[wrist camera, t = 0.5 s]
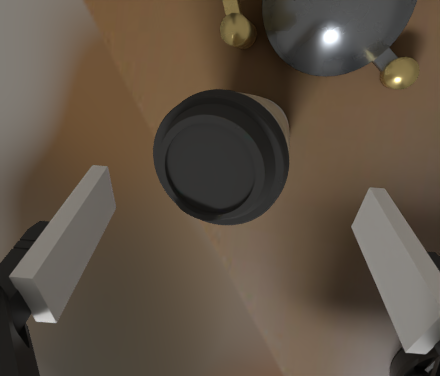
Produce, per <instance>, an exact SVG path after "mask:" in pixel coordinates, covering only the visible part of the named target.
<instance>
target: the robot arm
mask: <svg viewBox="0 0 440 376" xmlns="http://www.w3.org/2000/svg"><path fill="white" fill-rule="evenodd" d="M115 209H116V205H115V199H114V195H113V191H112V185H111V181H110V175H109V170H108V167H107V166H96V165H92V167H91V168H90V169H89V171H88V172H87V173H86V175H85V176H84V177H83V179H82V180H81V181H80V183H79V184H78V185H77V187H76V188H75V189H74V191H73V192H72V193H71V194H70V196H69V197H68V198H67V200H66V201H65V203H64V204H63V205H62V207H61V208H60V209H59V211H58V212H57V213H56V214H55V216H54V217H53V218H52V220H51V221H50V222H47V221H39V222H38V223H36V224H35V225H33V226H32V227H30V228H29V229H28V230H27V231H26V232H25V234H24V235H23V236H22V237H21V239H20V241H18V242H17V243H16V245H15V246H14V248H13V249H11V251H10V252H9V253H8V255H7V256H6V257H5V258H4V259H3V261H2V262H1V263H0V376H40V374H39V370H38V366H37V362H36V358H35V353H34V349H33V345H32V341H31V337H30V333H29V329H28V326H27V324H26V321H27V320H28V318H29V316H30V315H31V313H32V315H33V317H34V318H35V320H36V321H38V322H50V323H57V321H58V319H59V317H60V315H61V313H62V312H63V310H64V308H65V306H66V304H67V302H68V300H69V298H70V296H71V294H72V292H73V290H74V288H75V286H76V284H77V283H78V281H79V279H80V277H81V275H82V273H83V271H84V269H85V267H86V265H87V263H88V261H89V259H90V257H91V256H92V254H93V252H94V250H95V248H96V246H97V244H98V242H99V240H100V238H101V236H102V234H103V232H104V230H105V229H106V227H107V225H108V223H109V221H110V219H111V217H112V215H113V213H114V211H115ZM351 228H352V230H353V232H354V235H355V237H356V239H357V242H358V244H359V246H360V249H361V251H362V253H363V256H364V258H365V260H366V262H367V265H368V267H369V269H370V272H371V274H372V276H373V279H374V281H375V283H376V286H377V288H378V290H379V293H380V295H381V297H382V300H383V302H384V304H385V307H386V309H387V311H388V314H389V316H390V318H391V321H392V323H393V325H394V328H395V330H396V332H397V334H398V337H399V339H400V341H401V344H402V346H403V349H401V350H400V351H399V353H398V354H397V355H396V356H395V358H394V360H393V362H392V364H391V367H390V376H440V256H438V255H437V254H436V253H435V252H426V250H425V249H424V247H423V246H422V244H421V243H420V241H419V240H418V238H417V237H416V235H415V234H414V232H413V231H412V229H411V227H410V226H409V224H408V223H407V221H406V220H405V218H404V217H403V215H402V214H401V212H400V211H399V209H398V208H397V206H396V205H395V203H394V202H393V200H392V199H391V197H390V196H389V194H388V193H387V191H386V190H385V189H384V188H372V187H369V189H368V192H367V194H366V196H365V198H364V200H363V202H362V205H361V207H360V209H359V211H358V213H357V215H356V218H355V220H354V222H353V224H352V226H351Z"/></svg>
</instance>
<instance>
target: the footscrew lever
mask: <svg viewBox="0 0 440 376" xmlns="http://www.w3.org/2000/svg"><path fill="white" fill-rule="evenodd" d="M222 1H223V5H224V9H225V14H226V17H225V18H224V19H223V20H222V23H221V26H220V34H221V37H222V39H223V40H224V42H226V43H227V44H229V45H232V46H235V47H237V48H240V49H247V48H249V47H251V46H252V45H253V44H254V42H255V40H256V37H257V31H256V28H255V26H254V25H253V24H252V23H251V22H250V21H249V20H248V19H246V18H245V17H244V16H243V15H242V10H241V6H240V1H239V0H222Z"/></svg>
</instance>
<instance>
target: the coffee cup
mask: <svg viewBox="0 0 440 376" xmlns="http://www.w3.org/2000/svg"><path fill="white" fill-rule="evenodd" d="M289 145H290V132H289V124H288V120H287V117H286V115H285V113H284V112H283V110H282V109H281V108H280V107H279V106H278V105H277V104H276V103H274V102H273V101H271V100H269V99H266V98H263V97H260V96H256V95H251V94H246V93H241V92H235V91H231V90H222V89H215V90H207V91H203V92H199V93H197V94H194V95H192V96H190V97H188V98H187V99H185V100H184V101H182V102H181V103H180V104H179V105H177V106H176V107H175V108H173V109H172V110H171V111H170V112H169V113H168V114H167V115H166V116H165V118H164V119H163V121H162V122H161V124H160V126H159V128H158V130H157V133H156V136H155V140H154V146H153V158H154V165H155V169H156V173H157V175H158V178H159V180H160V183H161V184H162V186H163V188H164V189H165V191H166V193H167V194H168V195H169V197H170V198H171V199H172V200H173V201H174V202H175V203H176V204H177V205H178V206H179V208H180V209H181V210H182V211H184V212H185V213H187V214H189V215H191V216H193V217H195V218H197V219H200V220H202V221H205V222H208V223H212V224H218V225H236V224H242V223H245V222H249V221H251V220H253V219H255V218H257V217H259V216H260V215H262V214H263V213H265V212H266V211H267V210H268V209H269V208H270V207H271V206H272V205H273V203H274V202H275V201H276V199H277V198H278V197H279V195H280V193H281V192H282V190H283V188H284V185H285V183H286V180H287V176H288V170H289Z"/></svg>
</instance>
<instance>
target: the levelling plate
mask: <svg viewBox="0 0 440 376" xmlns="http://www.w3.org/2000/svg"><path fill="white" fill-rule="evenodd" d="M416 2H417V0H262V15H263V23H264V27H265V31H266V34H267V36H268V39H269V41H270V43H271V45H272V47H273V48H274V50H275V51H276V52H277V54H278V55H279V56H280V57H281V58H282V59H283V60H284V61H285V62H286V63H287V64H289V65H290V66H292V67H293V68H295V69H297V70H299V71H301V72H304V73H307V74H310V75H315V76H336V75H341V74H346V73H349V72H352V71H355V70H357V69H359V68H361V67H363V66H365V65H367V64H368V63H370V62H372V63H373V64H374V65H375V66H376V67H377V68H378V69H379V71H380V81H381V83H382V84H383V85H384V86H385V87H387V88H391V89H404V88H407V87H409V86H411V85H412V84H413V83H414V82H415V81H416V79H417V78H418V75H419V65H418V63H417V62H416V61H415V60H414V59H412V58H409V57H402V58H398V57H397V56H396V55H395V54H394V53H393V52H392V50H391V49H390V48H389V47H390V46H391V45H392V44H393V42H394V41H395V40H396V39H397V38H398V36H399V35H400V34H401V32H402V31H403V29H404V28H405V26H406V25H407V23H408V21H409V19H410V17H411V15H412V13H413V10H414V7H415V5H416Z"/></svg>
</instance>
